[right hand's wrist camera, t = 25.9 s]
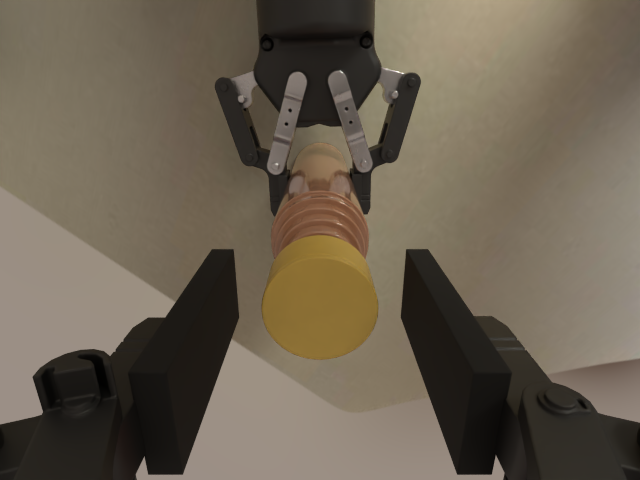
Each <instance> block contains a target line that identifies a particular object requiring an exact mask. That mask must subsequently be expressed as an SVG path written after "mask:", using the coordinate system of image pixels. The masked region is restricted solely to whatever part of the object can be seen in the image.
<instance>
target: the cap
mask: <svg viewBox="0 0 640 480" xmlns="http://www.w3.org/2000/svg"><path fill="white" fill-rule="evenodd" d="M377 316H378V300H377V296H376V292H375V288H374V285H373V281H372V278H371V274H370V270H369V267H368V265H367V263H366V261H365V259H364V257H363V256H362V255H361V253H360V252H359V251H358V250H357V249H356V248H355V247H353V246H352V245H351V244H349V243H347V242H346V241H344V240H341V239H339V238H336V237H332V236H326V235H314V236H308V237H304V238H301V239H298V240H296V241H294V242H292V243H291V244H289V245H288V246H286V247H285V248H284V249H283V250H282V251H281V252H280V253H279V254H278V256H277V257H276V259H275V260H274V262H273V264H272V267H271V270H270V274H269V277H268V281H267V284H266V288H265V292H264V295H263V299H262V317H263V321H264V324H265V326H266V328H267V331H268V332H269V334H270V335H271V337H272V338H273V339H274V340H275V341H276V342H277V343H278V344H279V345H280V346H281V347H282V348H284V349H285V350H287V351H289V352H291V353H293V354H295V355H297V356H300V357H304V358H308V359H320V360H322V359H331V358H336V357H339V356H343V355H345V354H347V353H349V352H351V351H353V350H355V349H356V348H357V347H359V346H360V345H361V344H362V343H363V342H364V341H365V340H366V339H367V338H368V336H369V335H370V334H371V332H372V330H373V328H374V326H375V324H376V320H377Z"/></svg>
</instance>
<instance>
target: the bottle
mask: <svg viewBox="0 0 640 480" xmlns="http://www.w3.org/2000/svg"><path fill="white" fill-rule="evenodd" d="M314 235H326V236H332V237H336V238H339V239H341V240H344V241H346V242H347V243H349V244H351V245H352V246H353V247H355V248H356V249H357V250H358V251H359V252H360V253H361V255H362V256H363V257H364V259H365V258H366V255H367V251H368V241H369V232H368V226H367V222H366V220H365V217H364V214H363V211H362V208H361V205H360V203H359V200H358V197H357V194H356V191H355V189H354V186H353V183H352V180H351V177H350V174H349V172H348V169H347V166H346V163H345V160H344V158H343V156H342V154H341V153H340V152H339V151H338V149H336V148H335V147H333V146H332V145H329V144H326V143H314V144H311V145H308V146H307V147H305V148H304V149H303V150H302V151H301V152H300V153H299V154H298V156H297V158H296V160H295V163H294V166H293V169H292V172H291V174H290V177H289V180H288V183H287V186H286V188H285V191H284V194H283V197H282V200H281V202H280V205H279V208H278V211H277V214H276V216H275V219H274V222H273V226H272V231H271V242H272V252H273V255H274V258H275V259H276V257H277V256H278V254H279V253H280V252H281V251H282V250H283V249H284V248H285V247H286V246H288V245H289V244H291V243H292V242H294V241H296V240H298V239H301V238H304V237H308V236H314Z"/></svg>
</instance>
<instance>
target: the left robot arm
mask: <svg viewBox="0 0 640 480" xmlns="http://www.w3.org/2000/svg"><path fill="white" fill-rule="evenodd" d="M256 5H257V19H258V33H259V54H258V58H257V61H256V63H255V65H254V69H253V71H251V72H248V73H245V74H242V75H239V76H236V77H233V78H225V77H222V78H219V79H218V80H217V81H216V83H215V90H216V93H217V95H218V98H219V101H220V104H221V106H222V109H223V112H224V114H225V117H226V120H227V123H228V125H229V128H230V131H231V134H232V136H233V139H234V142H235V145H236V147H237V150H238V153H239V155H240V158H241V161H242V162H243V164H245V165H247V166H254V167H257V168H260V169H263V170H264V171H265V172H266V173H267V174H268V177H269V188H270V202H271V211H272V213H273V215H274V216H276V214H277V211H278V208H279V205H280V202H281V200H282V197H283V194H284V191H285V188H286V186H287V183H288V180H289V177H290V170H287V165H286V163H287V160H288V156H289V152H290V149H291V145H292V142H293V138H294V135H295V131H296V128H297V127H309V126H313V125H316V124H322V125H326V126H330V127H332V126H341V127H342V130H343V133H344V136H345V138H346V141H347V144H348V147H349V150H350V153H351V156H352V159H353V169H350V177H351V180H352V183H353V186H354V189H355V191H356V194H357V197H358V200H359V203H360V205H361V208H362V211H363V214H368V212H369V209H370V191H371V173H372V171H373V169H374V168H375V167H377V166H379V165H382V164H384V163H392V162H394V161H395V160H396V159H397V158H398V155H399V152H400V149H401V145H402V142H403V139H404V136H405V133H406V129H407V126H408V123H409V120H410V116H411V113H412V110H413V107H414V103H415V100H416V97H417V94H418V90H419V87H420V84H421V80H420V77H419V76H418V75H417V74H416V73H401V72H397V71H394V70H390V69H386V68H383V67H381V63H380V60H379V58H378V56H377V54H376V51H375V47H374V19H375V0H256ZM377 82H378V83H379V84H381V86H382V88H383V99H384V101H385V102H386V103H389V108H388V111H387V114H386V118H385V121H384V125H383V128H382V132H381V135H380V139H379V142H378V144H377V145H375V146H372V147H370V148H368V146H367V143H366V140H365V135H364V132H363V129H362V125H361V122H360V119H359V116H358V113H357V111H358V110H359V108H360V107H361V105H362V104H363V102H364V101H365V99H366V98H367V96H368V95H369V94H370V92H371V91H372V89H373V88H374V86H375V85H376V83H377ZM257 86H259V87H260V88H261V90H262V91H263V92H264V94H265V95H266V96H267V98H268V99H269V100H270V101H271V103H272V104H273V105H274V107H275V108H276V109H277V111H278V112H279V113H280V114H279V118H278V122H277V126H276V130H275V134H274V139H273V144H272V147H271V151H270V150H267V149H264V148H261V146H260V143H259V140H258V137H257V134H256V131H255V128H254V125H253V122H252V119H251V117H250V114H249V111H248V107H250V106H251V105H252V104H253V102H254V96H253V92H254V89H255V88H256V87H257Z"/></svg>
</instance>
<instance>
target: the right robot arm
mask: <svg viewBox="0 0 640 480" xmlns="http://www.w3.org/2000/svg"><path fill="white" fill-rule="evenodd" d="M238 319H239V310H238V297H237V285H236V272H235V260H234V249H212V250H211V252H210V253H209V255H208V256H207V257H206V259H205V260H204V262H203V263H202V265H201V266H200V268H199V269H198V271H197V272H196V274H195V275H194V276H193V278H192V279H191V281H190V282H189V284H188V285H187V287H186V288H185V290H184V291H183V293H182V294H181V295H180V297H179V298H178V300H177V301H176V303H175V304H174V306H173V307H172V309H171V310H170V312H169V313H168V314H167V316H166V317H165V318H147V319H145V320H144V321H142V322H141V323H139V324H138V325H136V326H135V327H133V328H132V330H131V331H130V332H129V333H128V335H127V336H126V337H125V338H124V341H123V342H121V343H120V345H119V346H118V347H117V349H116V352H113V354H112V355H111V356H109V355H108V354H107V353H105V352H104V351H100V350H95V349H89V350H79V351H75V352H71V353H67V354H64V355H62V356H60V357H57V358H55V359H53V360H51V361H50V362H48V363H47V364H45V365H44V366H42V367H41V368H40V369H39V370H38V371H37V372H36V374H35V375H34V376H33V380H34V383H35V386H36V390H37V393H38V396H39V400H40V403H41V406H42V410H43V413H42V415H40V416H36V417H32V418H28V419H23V420H19V421H15V422H10V423H5V424H1V425H0V480H137V479H136V472H137V470H138V468H139V466H140V464H141V462H142V460H143V458H144V456H145V461H146V465H147V470H148V474H149V475H168V474H169V475H179V474H180V475H182V474H183V472H184V469H185V467H186V464H187V461H188V458H189V456H190V453H191V450H192V447H193V444H194V442H195V439H196V436H197V433H198V430H199V428H200V425H201V422H202V419H203V417H204V414H205V411H206V408H207V405H208V403H209V400H210V397H211V394H212V391H213V389H214V386H215V383H216V380H217V377H218V375H219V372H220V369H221V366H222V364H223V361H224V358H225V355H226V352H227V350H228V347H229V344H230V341H231V338H232V336H233V333H234V330H235V327H236V325H237V322H238ZM401 319H402V322H403V325H404V327H405V330H406V333H407V336H408V338H409V341H410V344H411V347H412V350H413V352H414V355H415V358H416V361H417V364H418V366H419V369H420V372H421V375H422V378H423V380H424V383H425V386H426V389H427V391H428V394H429V397H430V400H431V403H432V405H433V408H434V411H435V414H436V416H437V419H438V422H439V425H440V428H441V430H442V433H443V436H444V439H445V442H446V444H447V447H448V450H449V453H450V455H451V458H452V461H453V464H454V467H455V470H456V472H457V474H458V475H470V474H471V475H477V474H478V475H479V474H480V475H482V474H483V475H486V474H487V475H491V474H492V470H493V466H494V460H495V456H497V458H498V460H499V462H500V464H501V466H502V468H503V470H504V472H505V474H504V479H503V480H640V423H638V422H634V421H629V420H625V419H620V418H616V417H611V416H607V415H603V414H600V413H597V411H596V409H595V408H594V407H593V405H592V404H591V402H590V401H588V400H587V399H586V398H585V397H583V396H582V395H581V394H580V393H578V392H576V391H574V390H572V389H570V388H568V387H566V386H563V385H559V384H556V383H552V382H551V381H550V379H549V378H548V377H547V375H546V374H545V373H544V372H543V370H542V369H541V368H540V367H539V365H538V364H537V363H536V362H535V360H534V359H533V358H532V357H531V355H530V354H529V353H528V352H527V350H525V348H524V347H523V345H522V344H521V343H520V342H519V341H517V338H516V337H515V335H514V334H513V333H512V332H511V330H510V329H509V328H508V327H507V326H506V325H504V324H503V323H501V322H500V321H498V320H497V319H495V318H494V317H492V316H473V314H472V313H471V312H470V310H469V309H468V307H467V306H466V304H465V303H464V301H463V300H462V298H461V297H460V295H459V294H458V293H457V291H456V290H455V288H454V287H453V285H452V284H451V282H450V281H449V279H448V278H447V276H446V275H445V274H444V272H443V271H442V269H441V268H440V266H439V265H438V263H437V262H436V260H435V259H434V257H433V256H432V255H431V253H430V252H429V250H428V249H406V260H405V272H404V285H403V297H402V310H401Z"/></svg>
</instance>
